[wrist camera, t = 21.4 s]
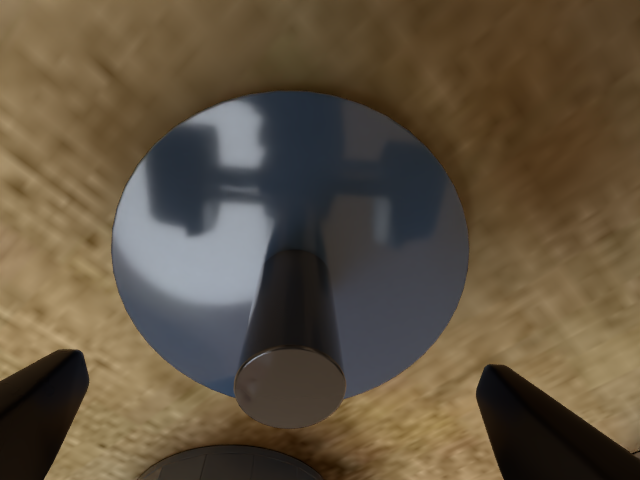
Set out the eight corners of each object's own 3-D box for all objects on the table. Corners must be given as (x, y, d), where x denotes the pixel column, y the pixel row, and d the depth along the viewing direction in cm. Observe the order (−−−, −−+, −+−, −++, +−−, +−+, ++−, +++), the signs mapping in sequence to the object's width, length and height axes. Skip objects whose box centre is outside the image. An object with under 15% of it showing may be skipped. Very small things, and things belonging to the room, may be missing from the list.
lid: (53, 162, 11) (-176, 234, 6) (423, 30, 10) (559, -29, 5) (215, 412, 15) (171, 576, 10) (475, 342, 14) (570, 485, 9)
